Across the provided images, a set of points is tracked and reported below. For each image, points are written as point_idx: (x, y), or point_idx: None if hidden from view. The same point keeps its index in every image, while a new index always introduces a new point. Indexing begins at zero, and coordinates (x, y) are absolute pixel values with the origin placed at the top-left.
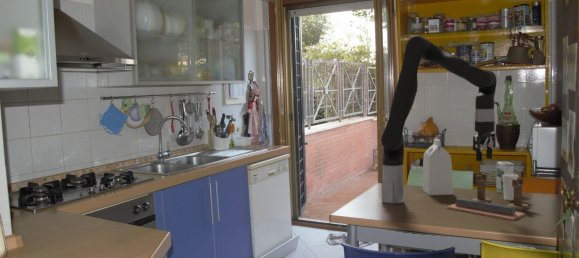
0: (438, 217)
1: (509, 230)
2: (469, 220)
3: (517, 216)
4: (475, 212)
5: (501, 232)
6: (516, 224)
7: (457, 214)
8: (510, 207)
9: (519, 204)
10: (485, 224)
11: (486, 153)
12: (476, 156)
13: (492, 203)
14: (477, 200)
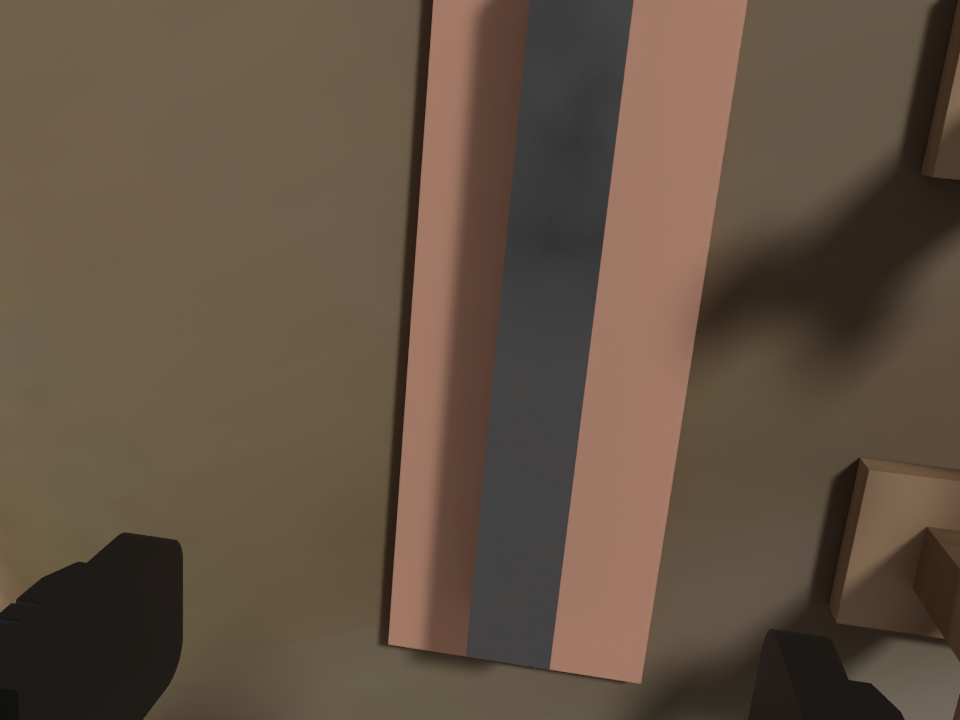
0: (34, 2)
1: None
2: (146, 314)
3: None
4: (415, 268)
5: None
6: (296, 681)
7: (272, 117)
8: (493, 635)
9: (921, 597)
10: (125, 477)
11: (802, 715)
12: (1, 621)
13: (565, 428)
14: (958, 80)
